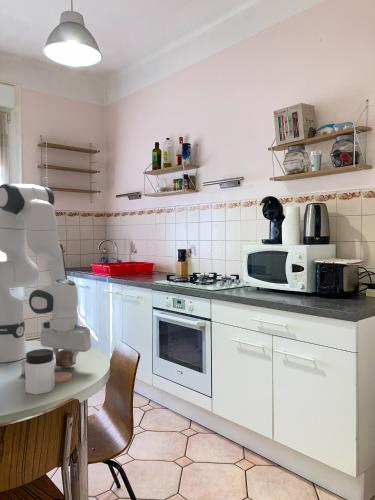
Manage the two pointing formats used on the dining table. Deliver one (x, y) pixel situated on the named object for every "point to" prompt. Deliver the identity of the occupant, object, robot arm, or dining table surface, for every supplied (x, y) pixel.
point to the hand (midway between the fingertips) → (65, 360)
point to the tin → (23, 367)
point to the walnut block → (64, 358)
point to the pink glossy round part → (62, 377)
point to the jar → (39, 371)
